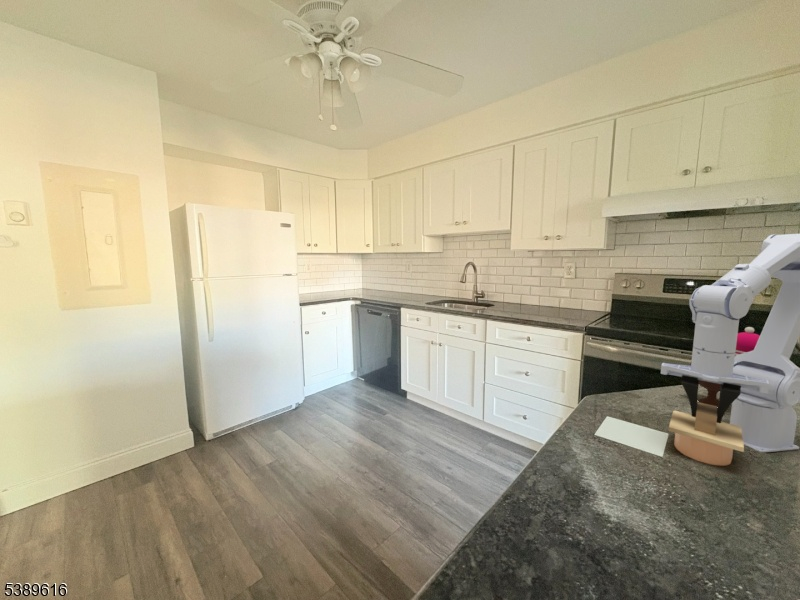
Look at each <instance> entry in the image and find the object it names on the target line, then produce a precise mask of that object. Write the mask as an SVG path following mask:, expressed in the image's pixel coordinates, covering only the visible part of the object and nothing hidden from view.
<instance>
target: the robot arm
mask: <svg viewBox="0 0 800 600" xmlns="http://www.w3.org/2000/svg"><path fill="white" fill-rule="evenodd" d="M772 277H773V278H775V279H777V280H780V281H781V282H782V284H781V286H780V289H779V291H778V294H777V295H776V299H775V300H774V303H773V305H772V306H771V310H770V312H769V315H768V317H767V319H766V321H765V322H764V323H765V324H764V326H763V327H762V330H761V332H760V337H759V339H758V342H757V344H756V346H755V348H754V350H753V351H750V352H746V353H743V354H739V355H736V356H735V351H736V343H737V335H738V333H739V325H740V324H739V323H740V319H742V318H743V317H745V316H746V315H747V314H748V313H749V310H750V308H751V305H752V304H753V303H754V300H755V297H756V296H758V295H759V294H760V293H762V292H763V291H764V290H765V289H766V288H767V287H769V286H770V284H771V282H772ZM688 301H689V303H688V304H689V308H690V311H691V314H692V315H691V316H692V317H691V321H692V323H694V324H695V325H694V336H693V344H692V352H691V353H692V354H691V361H690V364H691V366H687V365H688V364H686V365H684V364H675V363H667V362H662V363H661V364H660V365H661V367H660V374H661V375H665V376H667V375H670V376H676V377H680V378H681V385H682V387H683V390H684V391H685V394H686V396H687V398H688V401H689V406H690V410H691V415H692V417H696V411H697V404H698V402H697V400H698V395H699V386H700V385H699V380H702V381H707V382H713V383H718V384H721V387H720V391H719V399H718V401H719V403H718V408H717V423H721V422H722V420H723V417H724V416H725V414H726V412H727V410H728V409H729V407H730V406H731V409H730V417H729V418H730V419H729V424H733V425H737V426H741V430H742V436H743V443H744V446H746V447H749V448H750V449H753V450H755V451H757V452H758V453H759V452H760V453H772V452H781V451H783V452H784V451H792V450H794V451H795V450H799V449H800V446H799V445H796V444H795V443H794V442H795V435H796V427H797V423H798V415H797V413H796V411H795V409H794V408H793V407H794V406H795V405H797V404H798V403H799V402H800V367H799V366H797V365H796V364H795V363H794V362H793V361H791V360H790V359H791V356H792V354H793V351H794V349H795V347H796V345H797V341H798V340H799V337H800V233H789V234H788V233H787V234H776V233H774V234H773V233H772V234H770V235H768V236H767V237H766V238H765V239H764V240H763V241H762V243H761V246H760V253H758V255H757V256H756V257H755V258H753V259H752V261H750V262H749V263H739V264H738V263H737V264H736V265H735V266H734V267H733V268H732V269H731V270H729V271H728V272H727V273H725V274H724V275H723V276H722V277H721V276H720V278H718V279H717V280H716V281H715V282H713V283H712V284H709V285H708V284H705V285H704V284H703V285H702V286H699V287H698V288H695V290H694V291H693V292H692V294H691V297H690V298H689V299H688Z"/></svg>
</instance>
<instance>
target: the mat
mask: <svg viewBox="0 0 800 600" xmlns="http://www.w3.org/2000/svg"><path fill="white" fill-rule="evenodd" d="M669 435H670V434H669V433H667V432H664V431H660V430H658V429H653V428H650V427H647V426H643V425H641V424H640V425H639V424H636V423H633V422H628V421H626V420H622V419H619V418H614V417H611V416H606V417H605V419H604V420H603V421H602V423H601V425H600V426H599V427H598V429H597V430H596V431H595V433H594V436H597V437H599V438H603V439H606V440H609V441H612V442H615V443H618V444H622V445H625V446H628V447H631V448H634V449H637V450H639V451H643V452H646V453H649V454H652V455H655V456H658V457H662V458H663V456H664V453H665V449H666V445H667V441H668V439H669Z"/></svg>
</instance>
